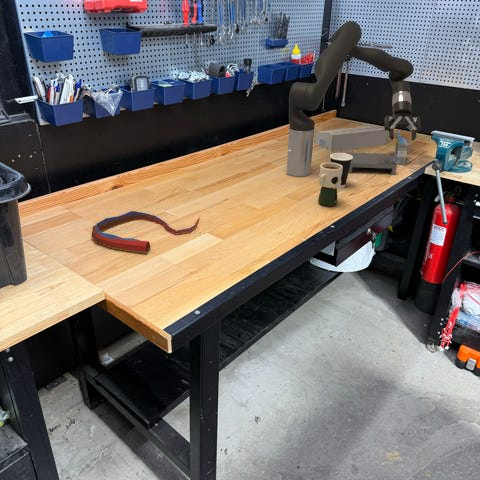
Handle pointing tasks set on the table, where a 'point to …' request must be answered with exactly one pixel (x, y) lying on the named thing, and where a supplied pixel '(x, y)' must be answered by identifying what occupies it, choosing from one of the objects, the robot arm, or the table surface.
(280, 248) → the table surface
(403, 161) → the label tape box
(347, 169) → the dixie cup
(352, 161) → the brushed metal plate
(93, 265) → the table surface
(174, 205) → the table surface
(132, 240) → the red curved tail
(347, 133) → the warehouse
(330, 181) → the character mug
